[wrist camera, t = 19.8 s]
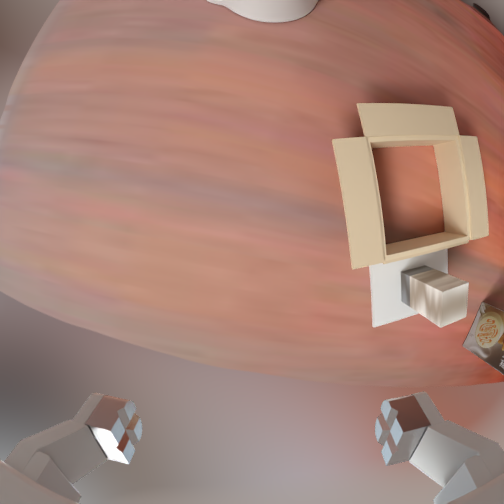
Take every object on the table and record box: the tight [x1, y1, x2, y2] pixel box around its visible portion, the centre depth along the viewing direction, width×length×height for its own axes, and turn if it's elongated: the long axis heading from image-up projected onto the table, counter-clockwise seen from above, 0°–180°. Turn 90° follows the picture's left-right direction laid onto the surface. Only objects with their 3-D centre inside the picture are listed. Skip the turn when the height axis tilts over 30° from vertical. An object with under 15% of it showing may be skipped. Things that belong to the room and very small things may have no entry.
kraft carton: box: [332, 103, 489, 269], centre depth 32 cm, size 19×23×6 cm
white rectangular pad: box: [369, 249, 448, 327], centre depth 37 cm, size 10×14×1 cm
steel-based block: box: [401, 265, 469, 328], centre depth 32 cm, size 4×4×10 cm
